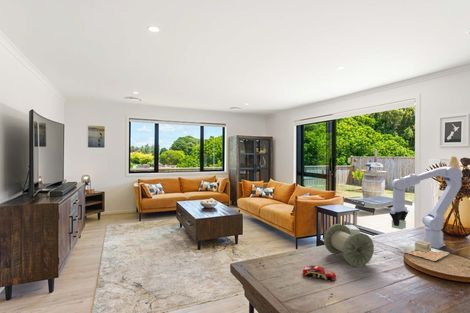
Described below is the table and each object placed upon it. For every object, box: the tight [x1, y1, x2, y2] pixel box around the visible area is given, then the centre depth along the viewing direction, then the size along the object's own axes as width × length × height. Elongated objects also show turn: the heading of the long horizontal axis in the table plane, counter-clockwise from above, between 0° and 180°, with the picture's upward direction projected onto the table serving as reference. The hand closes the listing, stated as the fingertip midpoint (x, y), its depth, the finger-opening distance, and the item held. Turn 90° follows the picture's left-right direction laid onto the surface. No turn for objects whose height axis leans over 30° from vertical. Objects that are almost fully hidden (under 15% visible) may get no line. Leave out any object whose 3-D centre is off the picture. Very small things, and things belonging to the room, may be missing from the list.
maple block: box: [414, 240, 432, 253], centre depth 134 cm, size 5×5×4 cm
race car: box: [302, 265, 337, 282], centre depth 110 cm, size 13×5×4 cm, turn 66°
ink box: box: [344, 224, 361, 235], centre depth 140 cm, size 9×5×12 cm, turn 179°
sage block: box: [391, 219, 407, 230], centre depth 148 cm, size 5×5×4 cm
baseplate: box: [398, 243, 450, 255], centre depth 134 cm, size 16×16×1 cm
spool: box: [323, 223, 375, 268], centre depth 127 cm, size 16×15×15 cm
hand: (398, 224), depth 148 cm, fingers closed on sage block, 5 cm apart
